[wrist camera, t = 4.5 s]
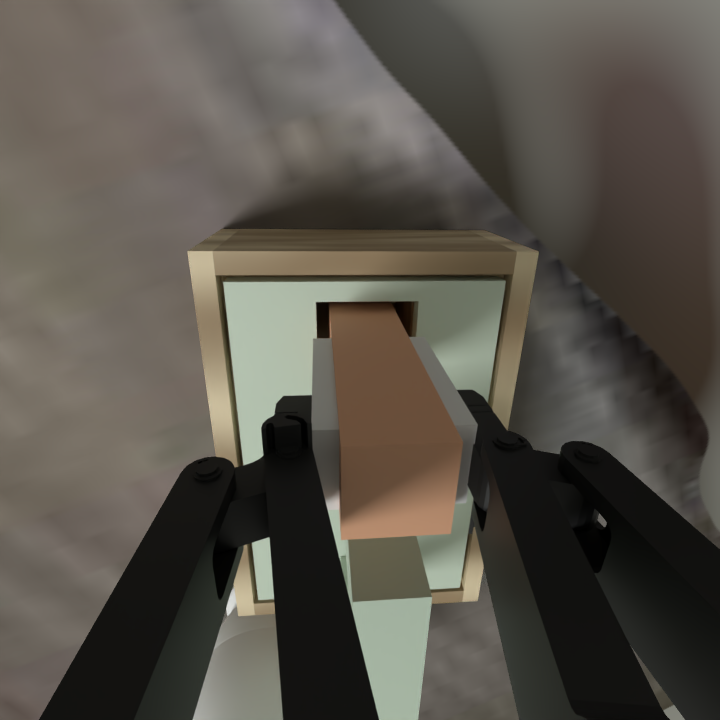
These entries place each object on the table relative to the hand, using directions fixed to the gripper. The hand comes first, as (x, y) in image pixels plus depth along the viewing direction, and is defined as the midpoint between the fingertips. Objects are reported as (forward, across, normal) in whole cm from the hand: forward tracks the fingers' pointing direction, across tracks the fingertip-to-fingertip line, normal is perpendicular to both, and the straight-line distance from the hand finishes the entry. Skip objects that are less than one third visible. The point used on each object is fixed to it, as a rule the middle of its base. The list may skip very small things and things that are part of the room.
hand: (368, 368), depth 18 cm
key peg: (+8, 0, 0) cm, 8 cm away
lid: (+4, 0, -7) cm, 8 cm away
